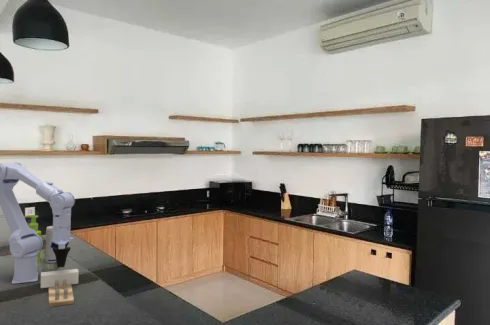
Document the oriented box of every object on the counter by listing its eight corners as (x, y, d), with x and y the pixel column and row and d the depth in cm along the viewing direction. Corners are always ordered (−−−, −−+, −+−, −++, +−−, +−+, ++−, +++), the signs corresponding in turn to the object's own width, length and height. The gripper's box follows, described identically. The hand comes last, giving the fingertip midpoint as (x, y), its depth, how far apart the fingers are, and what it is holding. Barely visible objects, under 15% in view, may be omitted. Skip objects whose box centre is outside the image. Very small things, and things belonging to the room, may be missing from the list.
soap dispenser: (25, 260, 156) (27, 214, 155) (42, 260, 156) (44, 214, 156) (18, 264, 150) (20, 216, 149) (36, 265, 150) (37, 217, 150)
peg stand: (48, 291, 125) (49, 278, 124) (71, 288, 128) (71, 276, 128) (48, 307, 112) (49, 293, 112) (73, 303, 116) (74, 290, 116)
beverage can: (53, 264, 153) (54, 228, 152) (41, 262, 154) (43, 227, 153) (62, 260, 158) (63, 226, 158) (51, 259, 159) (52, 225, 159)
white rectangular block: (40, 288, 127) (41, 276, 127) (40, 284, 130) (41, 272, 130) (78, 284, 133) (78, 272, 133) (77, 280, 136) (77, 268, 136)
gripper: (75, 230, 127) (74, 268, 127) (72, 222, 139) (71, 257, 140) (52, 231, 123) (51, 270, 123) (51, 223, 136) (50, 259, 136)
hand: (60, 263), depth 131 cm, fingers open, 7 cm apart
